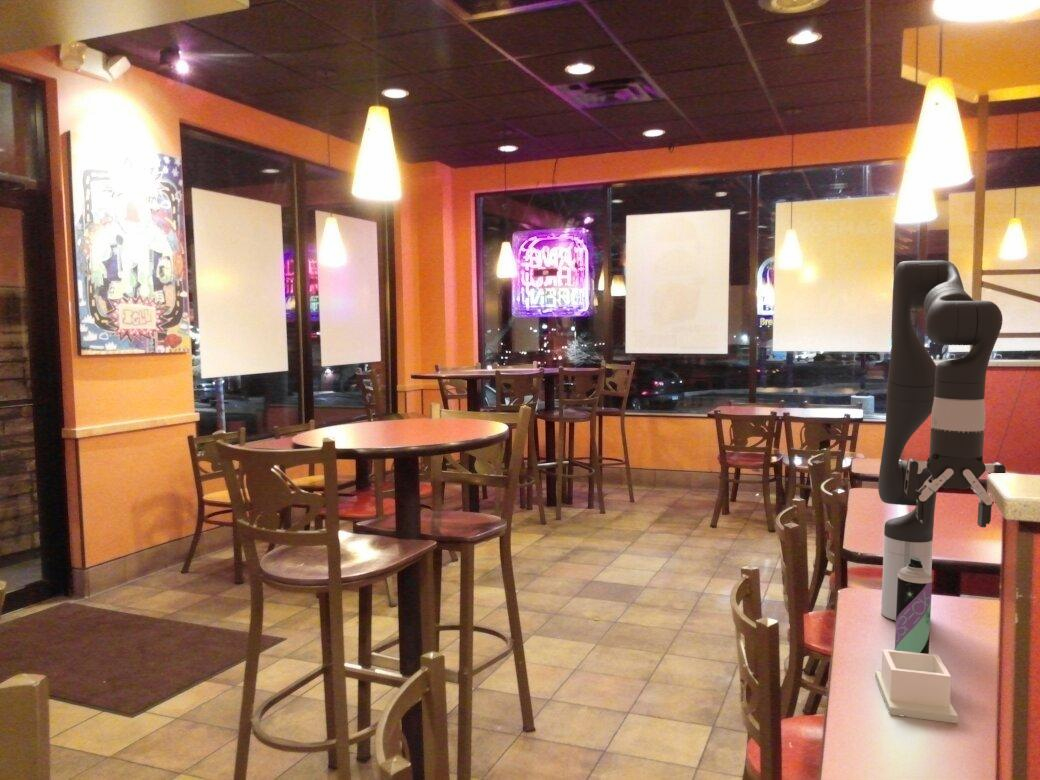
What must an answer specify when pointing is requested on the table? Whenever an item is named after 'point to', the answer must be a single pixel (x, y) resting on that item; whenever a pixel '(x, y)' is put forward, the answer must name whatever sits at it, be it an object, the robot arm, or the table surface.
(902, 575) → the spray can
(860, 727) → the table surface
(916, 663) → the can holder
